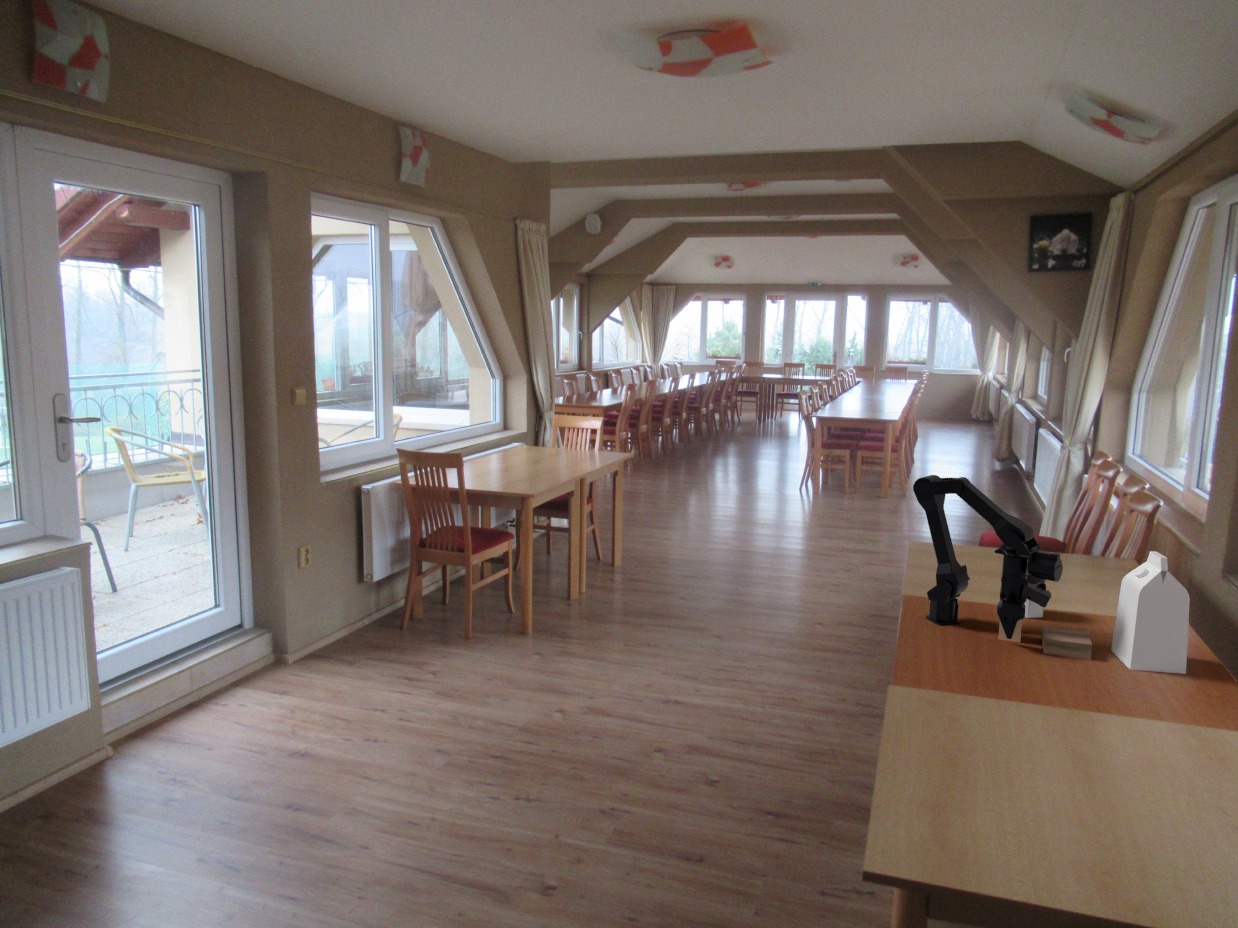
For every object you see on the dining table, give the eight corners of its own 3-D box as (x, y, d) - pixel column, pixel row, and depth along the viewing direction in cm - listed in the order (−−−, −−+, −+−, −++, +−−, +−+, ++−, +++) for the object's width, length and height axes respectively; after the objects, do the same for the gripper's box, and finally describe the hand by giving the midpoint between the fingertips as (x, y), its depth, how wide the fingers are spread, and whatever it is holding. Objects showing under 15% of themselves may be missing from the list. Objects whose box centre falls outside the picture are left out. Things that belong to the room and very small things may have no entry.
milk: (1185, 673, 192) (1198, 562, 188) (1130, 669, 194) (1141, 559, 190) (1163, 653, 204) (1175, 549, 200) (1111, 650, 206) (1121, 546, 202)
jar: (1049, 614, 232) (1053, 572, 230) (1035, 620, 227) (1039, 577, 225) (1017, 606, 239) (1020, 565, 237) (1002, 612, 233) (1006, 570, 232)
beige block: (1090, 661, 200) (1092, 644, 199) (1043, 654, 204) (1044, 638, 203) (1087, 646, 209) (1088, 631, 208) (1041, 640, 213) (1043, 625, 212)
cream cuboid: (1021, 642, 211) (1022, 619, 210) (997, 639, 213) (999, 616, 212) (1021, 636, 215) (1023, 613, 215) (998, 632, 218) (1000, 610, 217)
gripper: (1050, 587, 200) (1045, 650, 202) (1050, 567, 216) (1045, 626, 219) (999, 581, 205) (994, 642, 207) (1002, 562, 221) (998, 619, 224)
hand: (1009, 632), depth 214 cm, fingers open, 9 cm apart
